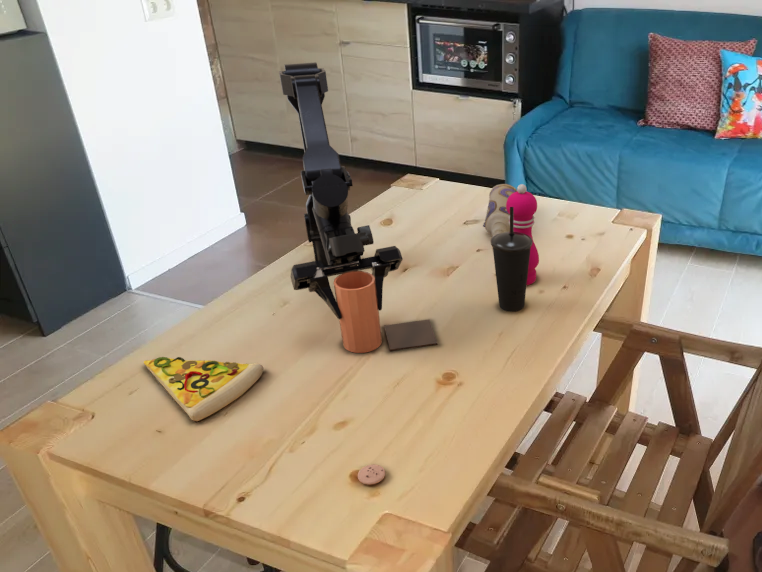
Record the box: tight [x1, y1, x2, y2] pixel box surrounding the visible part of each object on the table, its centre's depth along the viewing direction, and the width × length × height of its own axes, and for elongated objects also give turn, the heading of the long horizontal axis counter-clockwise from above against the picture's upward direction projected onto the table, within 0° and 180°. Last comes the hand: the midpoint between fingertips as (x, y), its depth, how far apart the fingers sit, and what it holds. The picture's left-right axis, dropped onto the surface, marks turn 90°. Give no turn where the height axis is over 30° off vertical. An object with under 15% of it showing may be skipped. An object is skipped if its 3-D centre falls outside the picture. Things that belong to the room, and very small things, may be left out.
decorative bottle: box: [482, 183, 517, 237], centre depth 170 cm, size 26×8×7 cm, turn 177°
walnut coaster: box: [383, 319, 438, 352], centre depth 136 cm, size 8×8×1 cm
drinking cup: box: [490, 207, 534, 313], centre depth 139 cm, size 8×8×20 cm
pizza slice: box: [143, 356, 264, 422], centre depth 123 cm, size 16×21×3 cm
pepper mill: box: [506, 183, 540, 286], centre depth 148 cm, size 7×7×20 cm
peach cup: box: [333, 270, 383, 354], centre depth 130 cm, size 7×7×12 cm
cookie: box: [357, 463, 386, 486], centre depth 105 cm, size 4×4×1 cm
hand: (360, 314), depth 129 cm, fingers closed on peach cup, 7 cm apart
